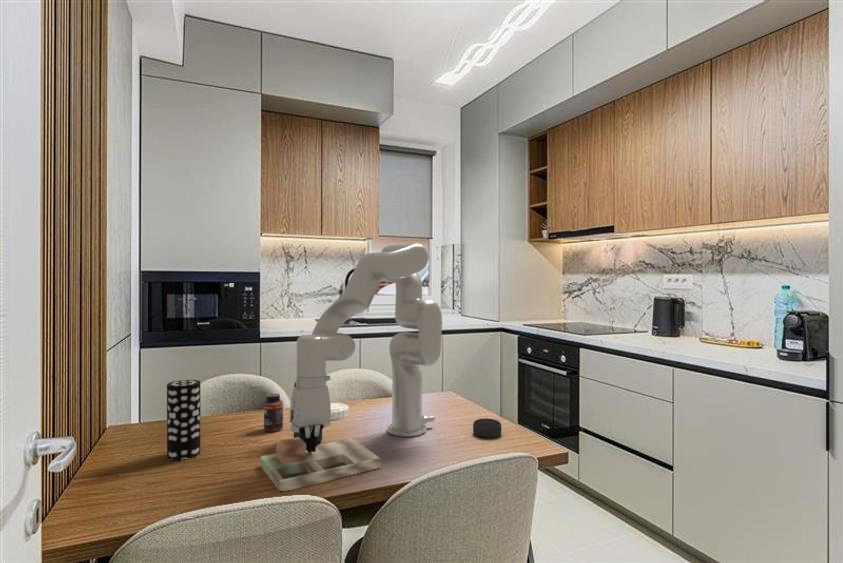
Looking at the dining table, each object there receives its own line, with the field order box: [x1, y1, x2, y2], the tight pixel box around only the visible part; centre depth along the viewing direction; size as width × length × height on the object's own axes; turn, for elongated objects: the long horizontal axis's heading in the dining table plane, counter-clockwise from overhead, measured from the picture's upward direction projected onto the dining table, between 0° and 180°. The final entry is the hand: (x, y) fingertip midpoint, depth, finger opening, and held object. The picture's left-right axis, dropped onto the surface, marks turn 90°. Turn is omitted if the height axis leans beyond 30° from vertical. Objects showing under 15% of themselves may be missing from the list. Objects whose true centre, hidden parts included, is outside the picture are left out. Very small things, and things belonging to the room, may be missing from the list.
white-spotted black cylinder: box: [166, 379, 202, 460], centre depth 131 cm, size 8×8×20 cm
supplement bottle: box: [263, 393, 284, 433], centre depth 153 cm, size 6×6×11 cm
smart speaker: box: [472, 418, 502, 439], centre depth 150 cm, size 9×9×4 cm
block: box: [275, 437, 306, 464], centre depth 123 cm, size 6×6×4 cm
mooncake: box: [330, 402, 350, 421], centre depth 169 cm, size 12×12×4 cm
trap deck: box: [259, 438, 382, 492], centre depth 123 cm, size 26×18×2 cm
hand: (310, 450), depth 126 cm, fingers closed
